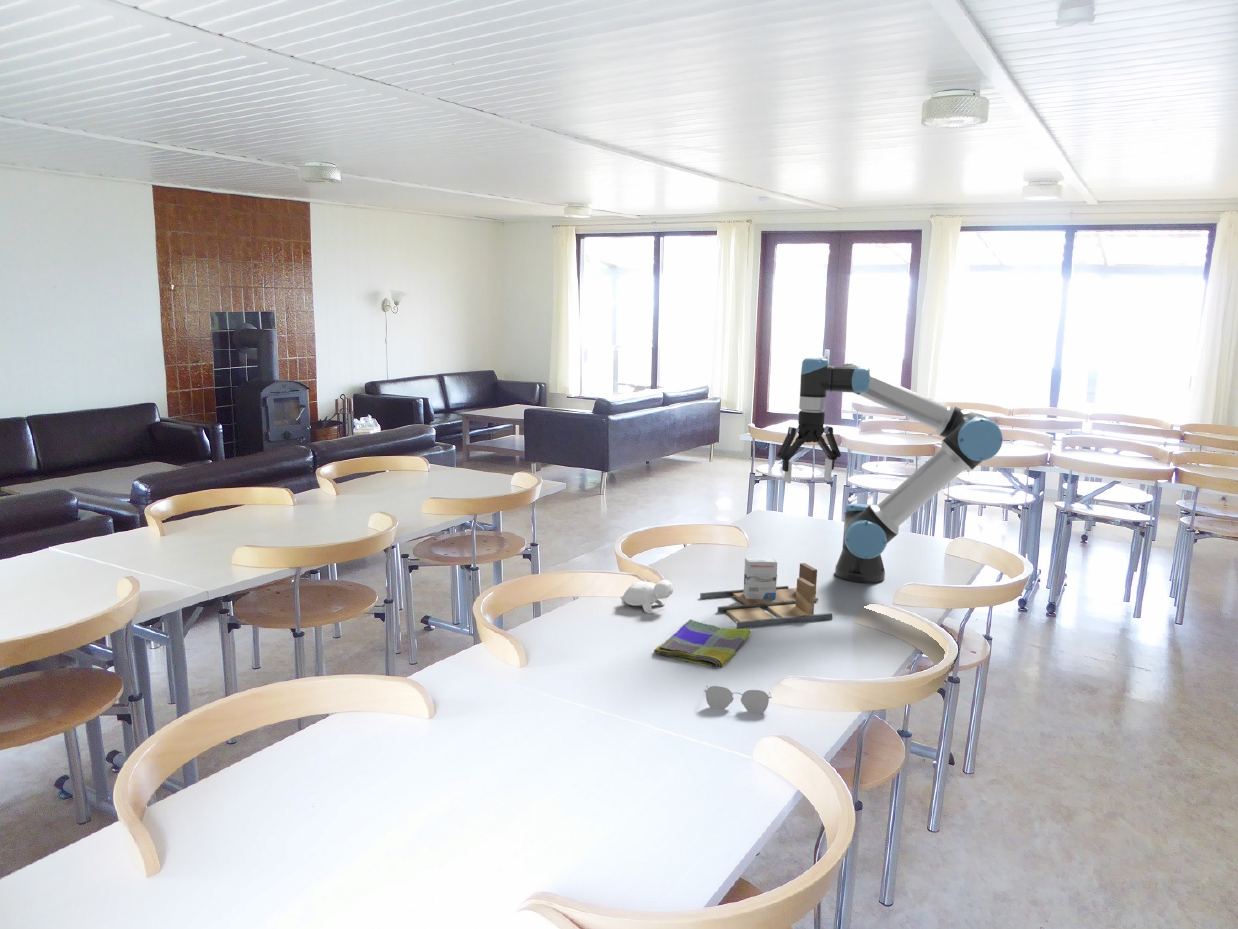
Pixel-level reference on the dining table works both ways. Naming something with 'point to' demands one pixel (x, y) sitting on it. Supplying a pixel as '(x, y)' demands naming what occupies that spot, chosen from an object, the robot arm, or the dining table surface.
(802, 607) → the wooden l-shaped stand
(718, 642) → the dish towel
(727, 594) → the lane rails
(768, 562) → the ink box
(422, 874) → the dining table surface
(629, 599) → the white animal figurine
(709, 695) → the sunglasses
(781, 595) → the tan wooden holder
